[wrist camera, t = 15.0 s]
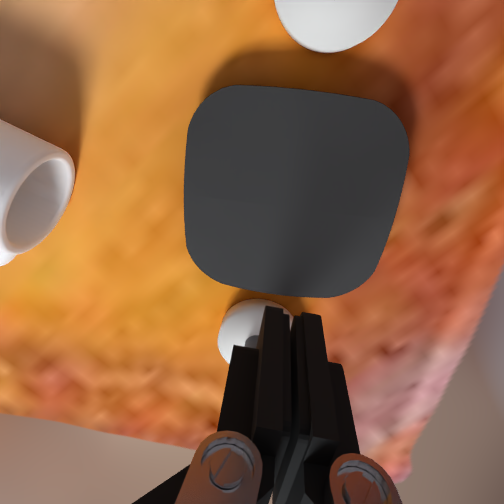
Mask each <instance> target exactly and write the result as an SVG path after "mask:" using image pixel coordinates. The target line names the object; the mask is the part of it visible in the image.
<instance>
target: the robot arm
mask: <svg viewBox="0 0 504 504" xmlns="http://www.w3.org/2000/svg"><path fill="white" fill-rule="evenodd" d="M272 491H273V498H272V500H273V502H272V503H273V504H402V501H401V499H400V496H399V494H398V491H397V489H396V487H395V485H394V483H393V481H392V479H391V477H390V476H389V475H388V474H387V472H386V471H385V470H384V469H383V468H382V467H381V466H380V465H379V464H377V463H376V462H375V461H374V460H372V459H370V458H368V457H366V456H364V455H361V454H360V451H359V445H358V440H357V435H356V430H355V425H354V420H353V415H352V410H351V405H350V400H349V395H348V390H347V385H346V380H345V375H344V371H343V367H342V365H341V364H338V363H332V362H328V359H327V353H326V346H325V339H324V333H323V326H322V320H321V316H320V315H316V314H311V313H305V312H302V313H301V315H300V316H294V318H293V321H292V325H291V329H290V315H289V314H284V311H283V308H277V307H272V306H265V309H264V313H263V318H262V323H261V327H260V332H259V336H258V341H257V346H256V349H255V348H250V347H244V346H238V345H233V350H232V355H231V360H230V365H229V371H228V376H227V381H226V386H225V392H224V397H223V402H222V407H221V413H220V418H219V423H218V428H217V432H216V433H214V434H211V435H209V436H208V437H207V438H206V439H204V440H203V441H202V442H201V443H200V445H199V447H198V449H197V450H196V452H195V454H194V457H193V459H192V462H191V464H190V465H189V466H187V467H185V468H184V469H183V470H181V471H180V472H178V473H177V474H175V475H174V476H172V477H171V478H169V479H168V480H166V481H165V482H163V483H162V484H160V485H159V486H157V487H156V488H155V489H153V490H152V491H150V492H148V493H147V494H145V495H144V496H143V497H141V498H140V499H138V500H137V501H135V502H134V503H132V504H268V503H269V500H270V497H271V494H272Z"/></svg>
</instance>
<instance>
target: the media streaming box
mask: <svg viewBox="0 0 504 504" xmlns="http://www.w3.org/2000/svg"><path fill="white" fill-rule="evenodd" d="M408 160H409V142H408V137H407V134H406V131H405V128H404V126H403V124H402V122H401V121H400V119H399V118H398V117H397V115H396V114H395V113H394V112H393V111H392V110H391V109H389V108H388V107H387V106H385V105H384V104H382V103H380V102H377V101H375V100H370V99H365V98H359V97H353V96H348V95H341V94H335V93H328V92H320V91H312V90H304V89H294V88H283V87H270V86H253V85H233V86H228V87H225V88H222V89H220V90H218V91H216V92H214V93H213V94H211V95H210V96H209V97H207V98H206V99H205V100H204V101H203V102H202V103H201V104H200V106H199V107H198V108H197V110H196V111H195V113H194V115H193V117H192V119H191V121H190V124H189V128H188V134H187V144H186V156H185V173H184V221H185V236H186V246H187V249H188V252H189V254H190V256H191V258H192V260H193V261H194V262H195V264H196V265H197V266H198V267H199V268H200V269H201V270H202V271H203V272H204V273H205V274H206V275H208V276H209V277H210V278H212V279H214V280H216V281H218V282H220V283H222V284H226V285H230V286H234V287H238V288H242V289H247V290H252V291H257V292H263V293H269V294H277V295H285V296H296V297H315V298H330V297H335V296H339V295H343V294H345V293H348V292H350V291H352V290H354V289H356V288H357V287H359V286H360V285H362V284H363V283H364V282H365V281H366V280H367V279H368V278H369V277H370V276H371V275H372V274H373V272H374V271H375V269H376V267H377V265H378V262H379V260H380V257H381V255H382V252H383V250H384V247H385V245H386V242H387V239H388V236H389V233H390V230H391V227H392V224H393V221H394V218H395V214H396V211H397V208H398V204H399V200H400V196H401V192H402V188H403V184H404V179H405V175H406V170H407V165H408Z"/></svg>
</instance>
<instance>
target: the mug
mask: <svg viewBox="0 0 504 504" xmlns="http://www.w3.org/2000/svg"><path fill="white" fill-rule="evenodd" d="M74 181H75V167H74V163H73V160H72V158H71V156H70V155H69V154H68V153H67V152H66V151H65V150H63V149H61V148H59V147H57V146H55V145H53V144H51V143H49V142H47V141H45V140H43V139H40V138H38V137H36V136H34V135H32V134H30V133H28V132H26V131H24V130H22V129H20V128H17V127H15V126H13V125H11V124H9V123H7V122H5V121H3V120H1V119H0V266H3V265H5V264H7V263H9V262H10V261H11V260H12V259H14V257H15V256H16V255H17V254H21V253H24V252H27V251H29V250H31V249H32V248H34V247H35V246H37V245H38V244H39V243H40V242H42V241H43V240H44V239H45V238H46V237H47V236H48V235H49V233H50V232H51V231H52V230H53V229H54V227H55V226H56V225H57V223H58V222H59V220H60V218H61V217H62V215H63V213H64V211H65V209H66V207H67V205H68V203H69V200H70V197H71V194H72V191H73V187H74Z"/></svg>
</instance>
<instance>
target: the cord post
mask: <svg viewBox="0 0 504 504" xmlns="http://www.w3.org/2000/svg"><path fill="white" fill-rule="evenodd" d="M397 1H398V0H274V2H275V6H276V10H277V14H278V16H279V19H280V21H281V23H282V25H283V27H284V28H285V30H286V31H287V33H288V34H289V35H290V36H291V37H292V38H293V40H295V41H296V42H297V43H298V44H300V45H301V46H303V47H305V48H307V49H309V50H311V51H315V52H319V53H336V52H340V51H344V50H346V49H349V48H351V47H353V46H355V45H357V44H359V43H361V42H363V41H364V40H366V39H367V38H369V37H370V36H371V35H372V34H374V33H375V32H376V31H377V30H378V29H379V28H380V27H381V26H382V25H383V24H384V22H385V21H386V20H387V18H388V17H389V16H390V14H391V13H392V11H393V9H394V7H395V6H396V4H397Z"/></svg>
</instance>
